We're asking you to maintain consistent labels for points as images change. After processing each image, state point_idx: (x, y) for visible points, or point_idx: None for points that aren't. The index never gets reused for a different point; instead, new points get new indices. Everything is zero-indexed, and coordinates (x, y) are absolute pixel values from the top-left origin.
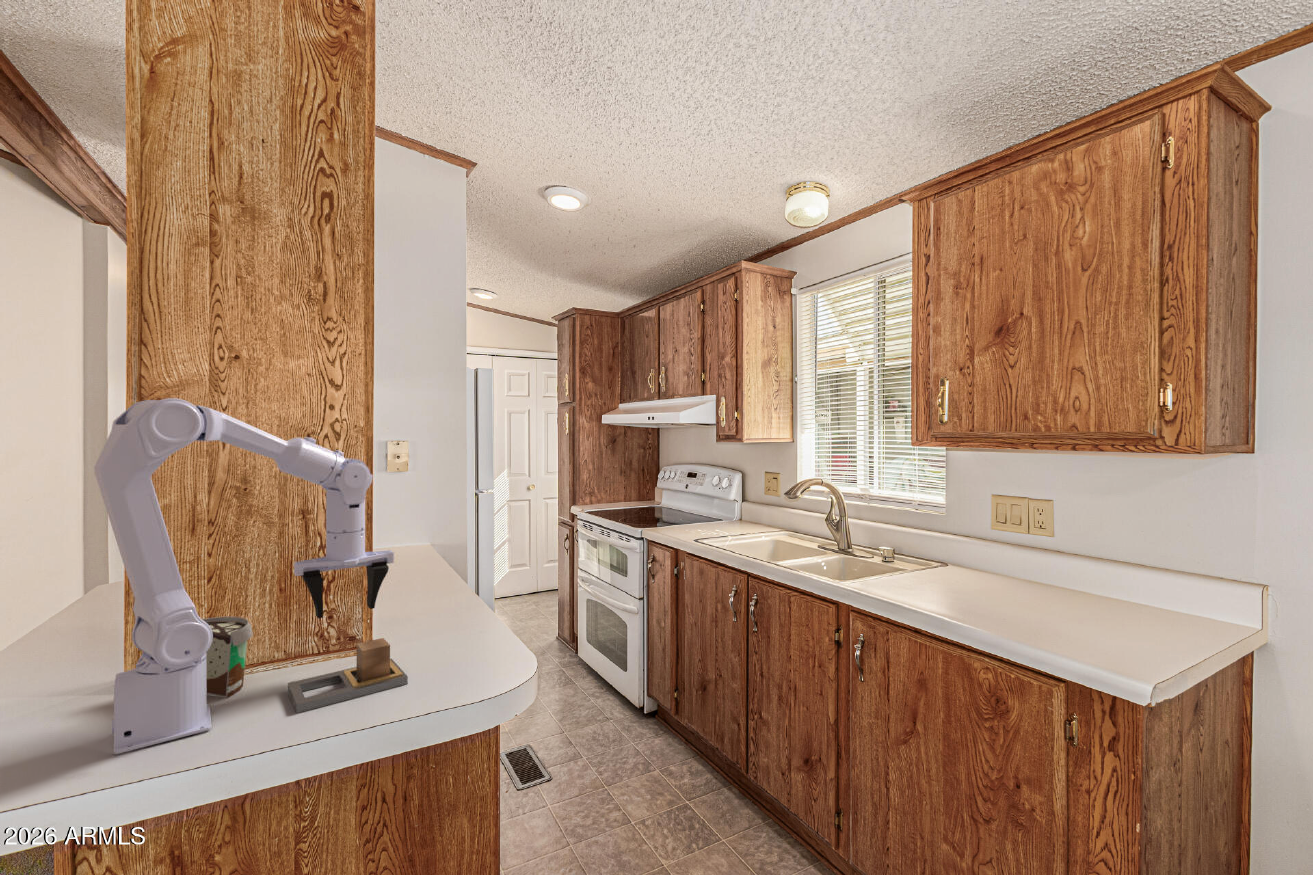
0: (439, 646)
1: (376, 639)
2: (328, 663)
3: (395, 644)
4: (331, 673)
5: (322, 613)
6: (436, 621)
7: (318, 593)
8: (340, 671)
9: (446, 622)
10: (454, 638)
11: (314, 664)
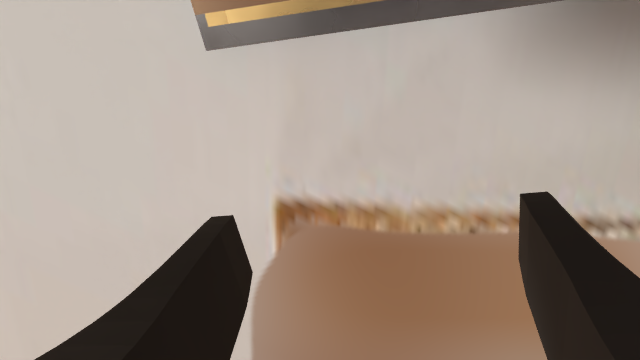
0: (53, 141)
1: (230, 6)
2: (432, 181)
3: None
4: (447, 8)
5: (531, 205)
6: None
7: (624, 303)
8: (410, 12)
9: (63, 322)
10: (11, 187)
11: (477, 196)
